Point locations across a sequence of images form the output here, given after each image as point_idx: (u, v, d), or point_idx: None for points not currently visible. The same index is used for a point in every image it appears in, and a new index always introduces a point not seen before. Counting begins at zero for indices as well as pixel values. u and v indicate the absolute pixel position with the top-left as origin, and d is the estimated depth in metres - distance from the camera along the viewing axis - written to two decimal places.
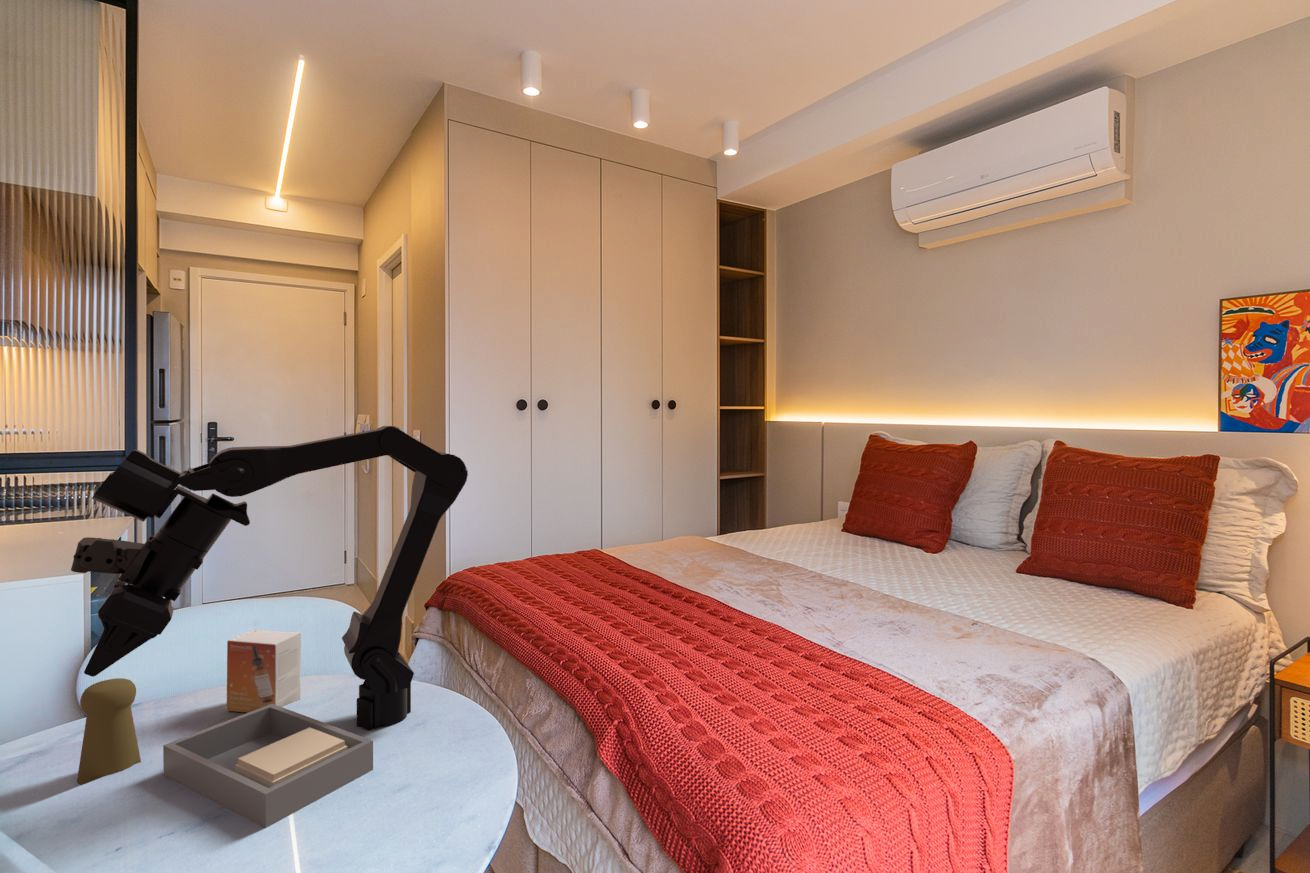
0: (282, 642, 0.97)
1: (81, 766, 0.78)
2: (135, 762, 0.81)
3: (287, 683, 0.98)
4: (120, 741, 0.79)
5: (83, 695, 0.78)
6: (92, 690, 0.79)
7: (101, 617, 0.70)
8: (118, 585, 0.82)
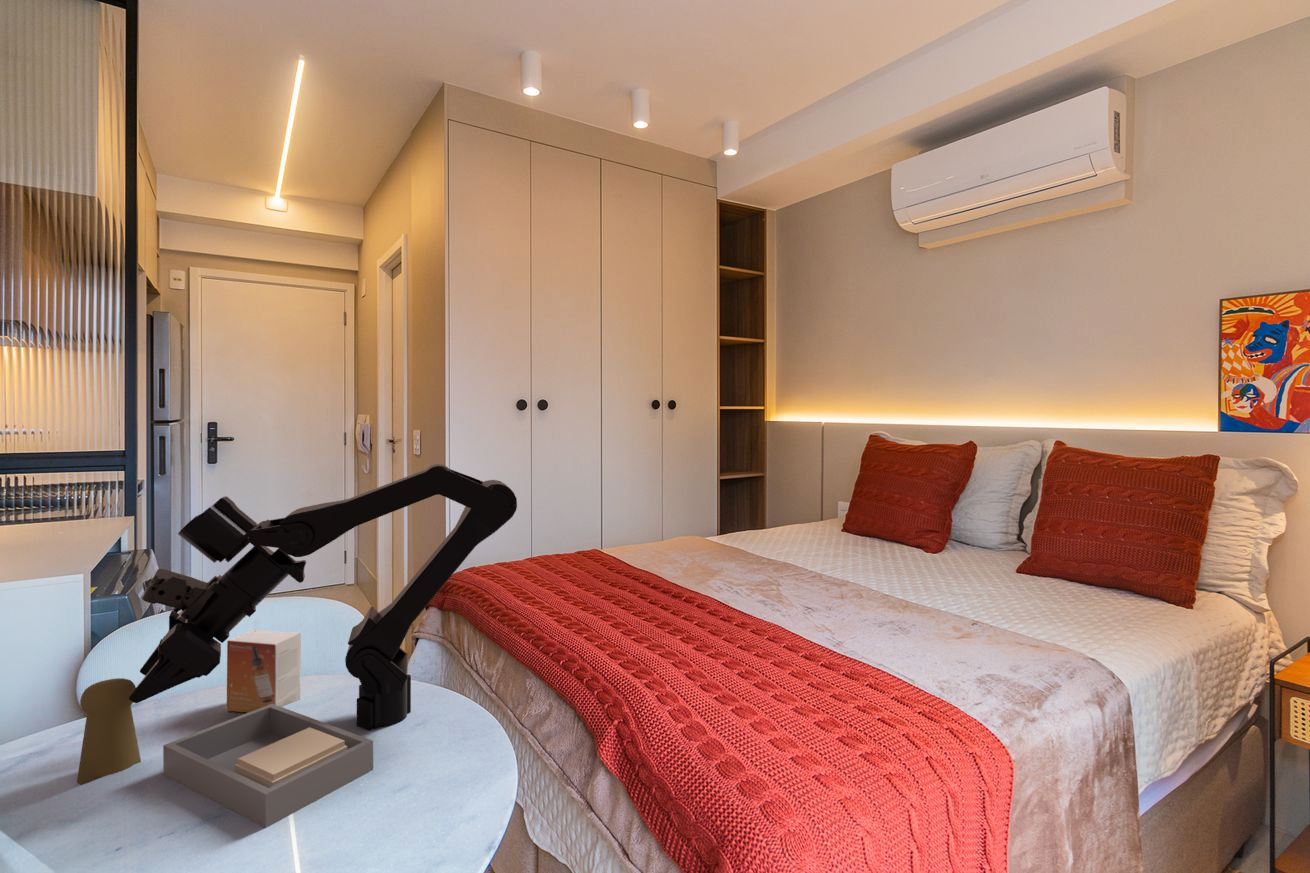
0: (282, 642, 0.97)
1: (81, 766, 0.78)
2: (135, 762, 0.81)
3: (287, 683, 0.98)
4: (120, 741, 0.79)
5: (83, 695, 0.78)
6: (92, 690, 0.79)
7: (160, 650, 0.76)
8: (172, 616, 0.88)
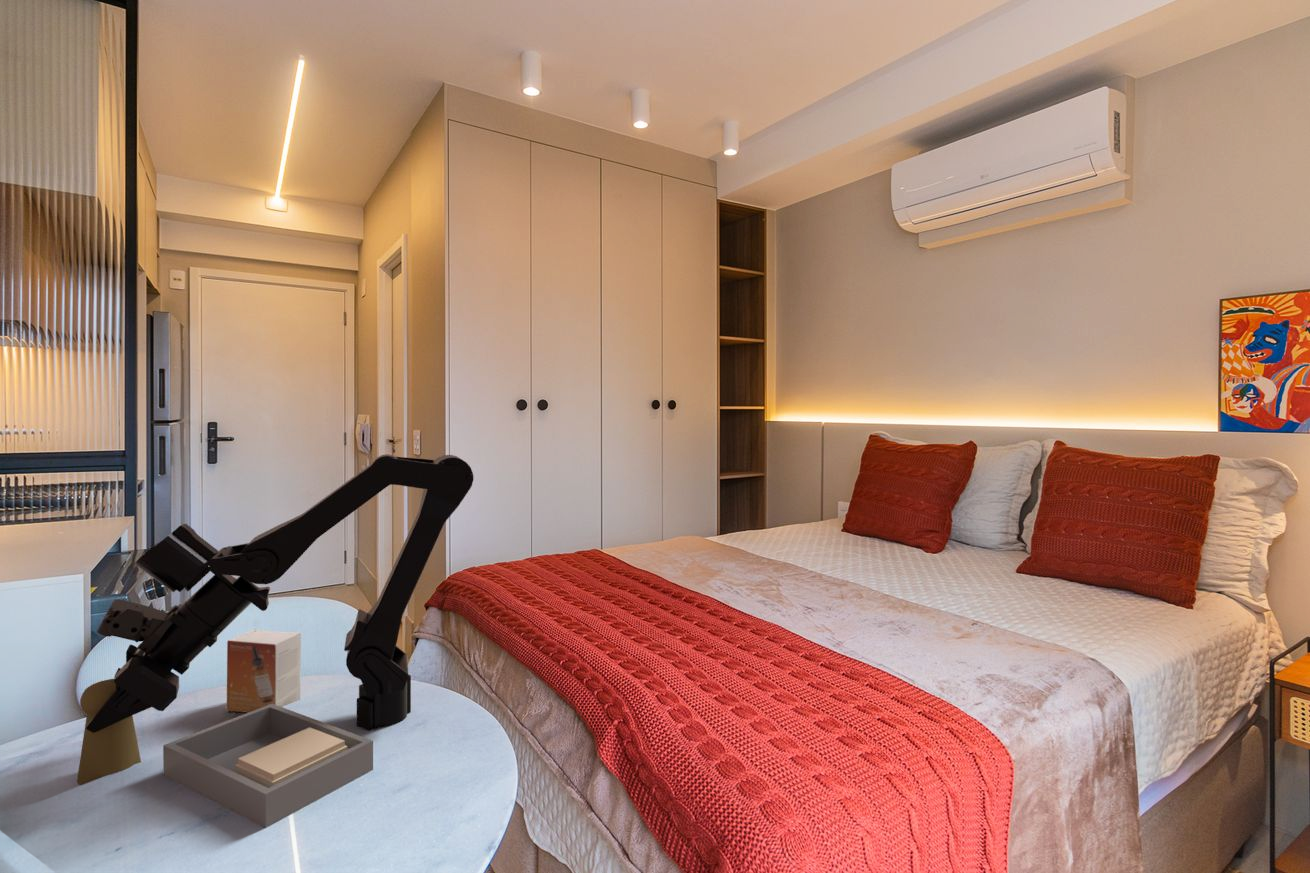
0: (282, 642, 0.97)
1: (81, 766, 0.78)
2: (135, 762, 0.81)
3: (287, 683, 0.98)
4: (120, 741, 0.79)
5: (83, 695, 0.78)
6: (92, 689, 0.79)
7: None
8: (130, 651, 0.84)
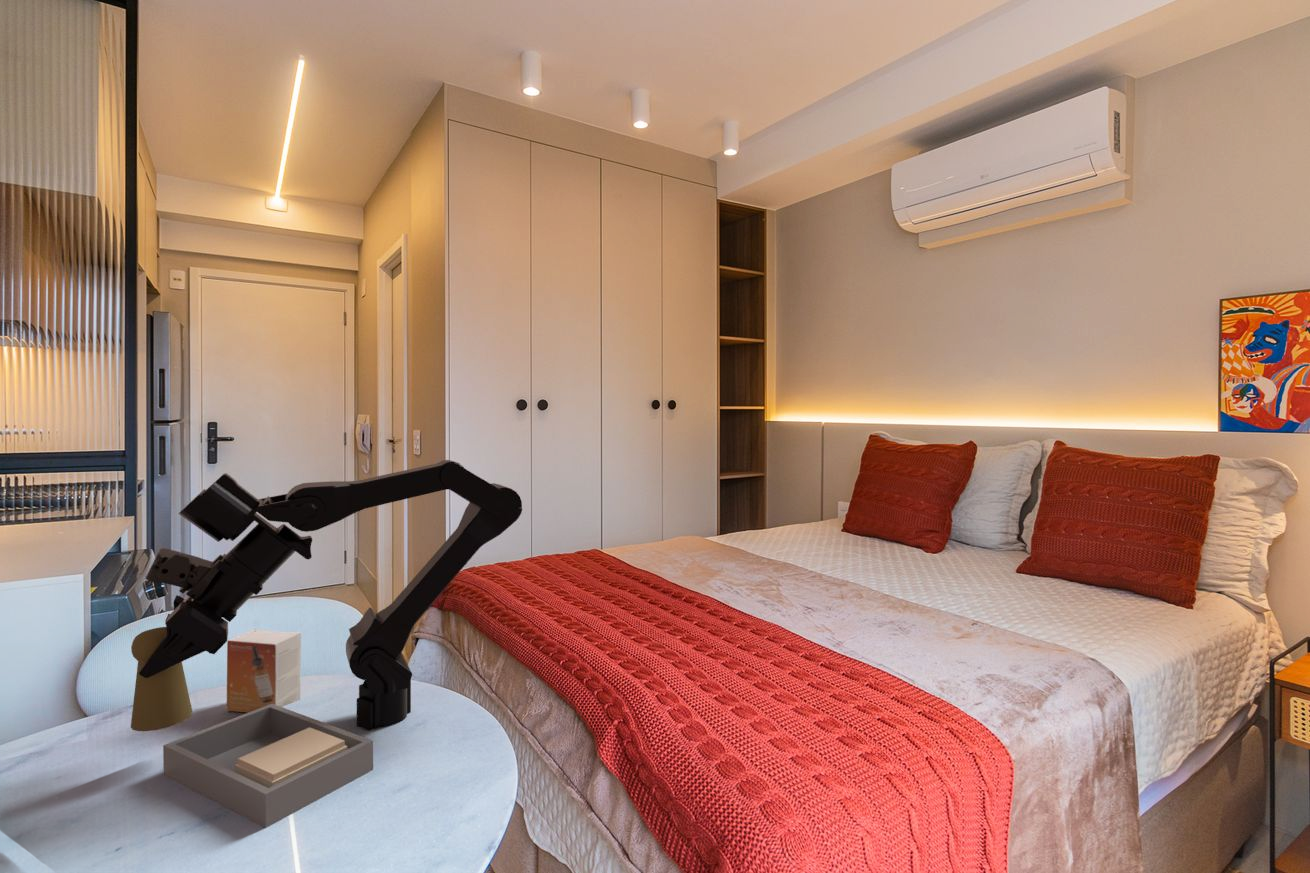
0: (282, 642, 0.97)
1: (134, 712, 0.79)
2: (186, 709, 0.81)
3: (287, 683, 0.98)
4: (171, 687, 0.80)
5: (134, 642, 0.79)
6: (143, 636, 0.79)
7: None
8: (177, 600, 0.84)
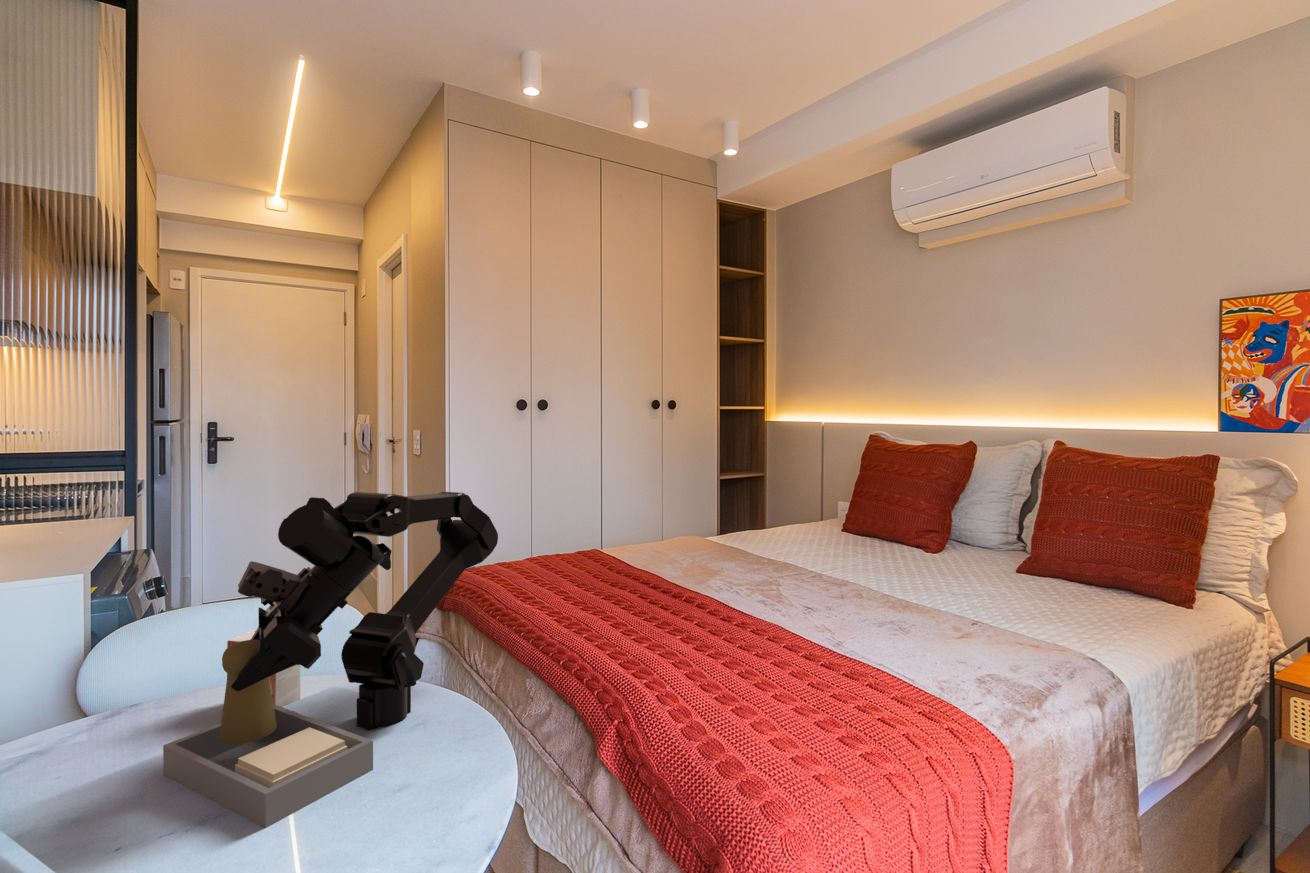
0: None
1: (224, 724, 0.79)
2: (273, 721, 0.82)
3: (287, 683, 0.98)
4: (260, 700, 0.80)
5: (225, 655, 0.79)
6: (234, 650, 0.79)
7: (263, 638, 0.77)
8: (261, 613, 0.85)
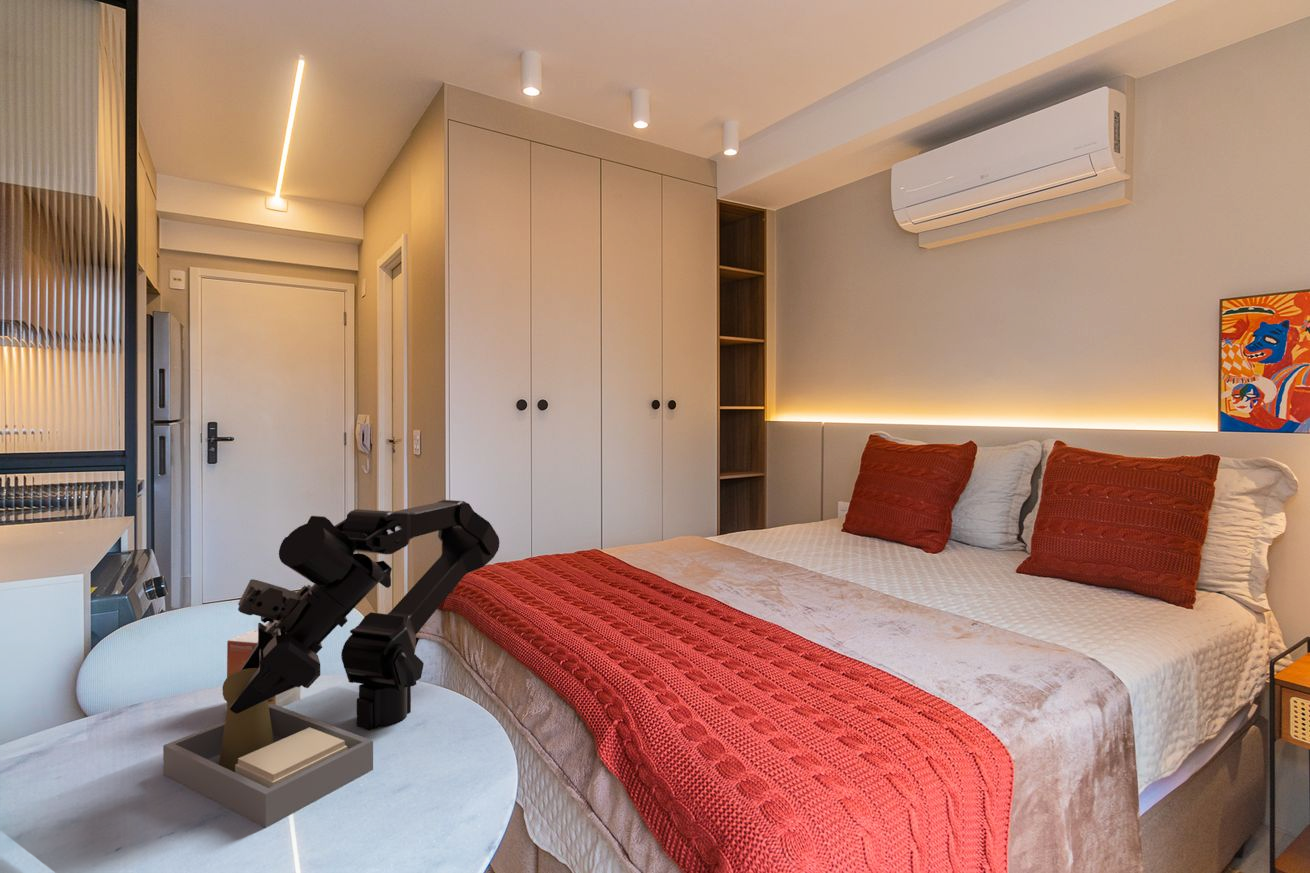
0: None
1: (224, 754, 0.79)
2: None
3: None
4: (260, 729, 0.81)
5: (226, 684, 0.80)
6: (234, 679, 0.80)
7: (263, 660, 0.76)
8: (261, 628, 0.86)
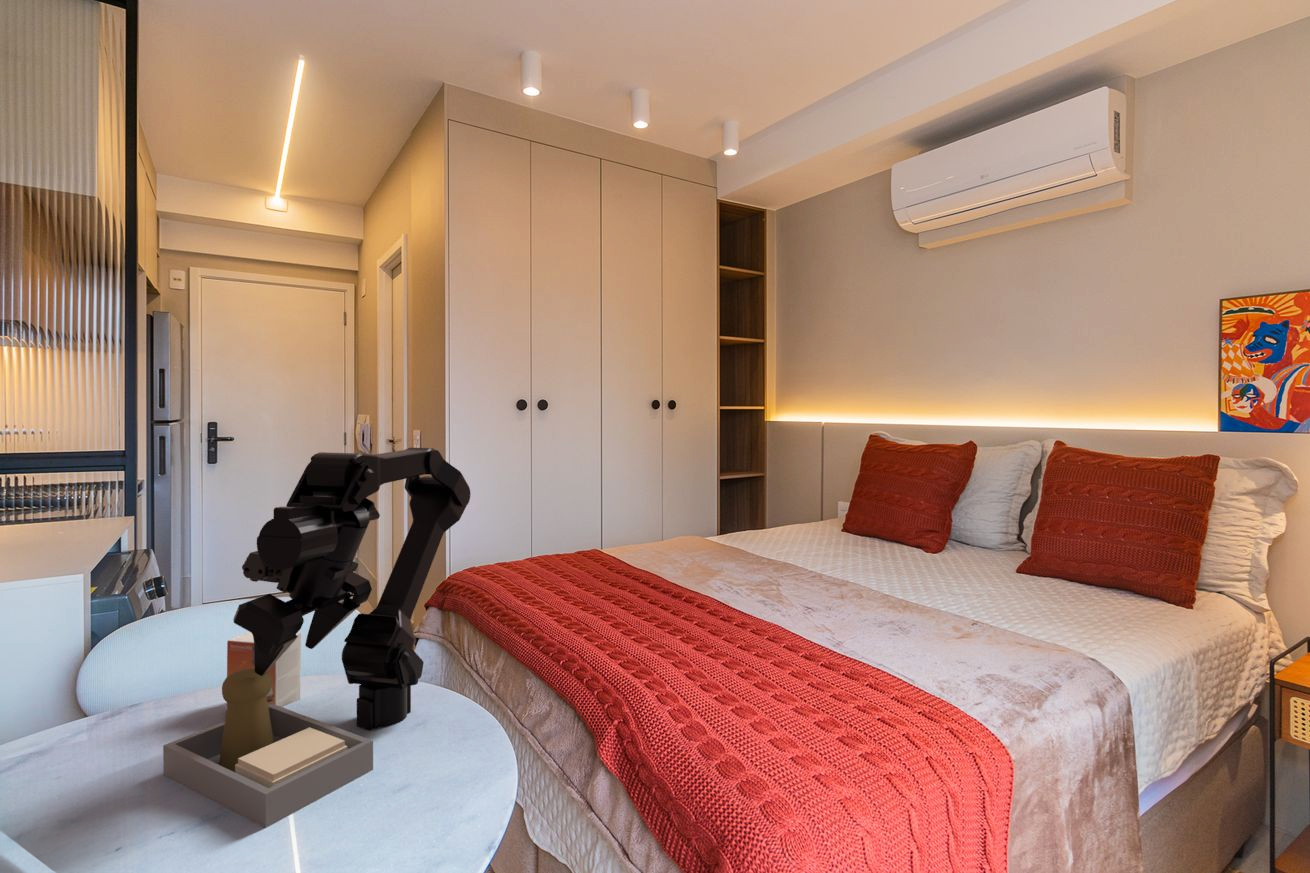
0: None
1: (224, 754, 0.79)
2: None
3: (287, 683, 0.98)
4: (260, 729, 0.81)
5: (225, 684, 0.80)
6: (234, 679, 0.80)
7: None
8: None
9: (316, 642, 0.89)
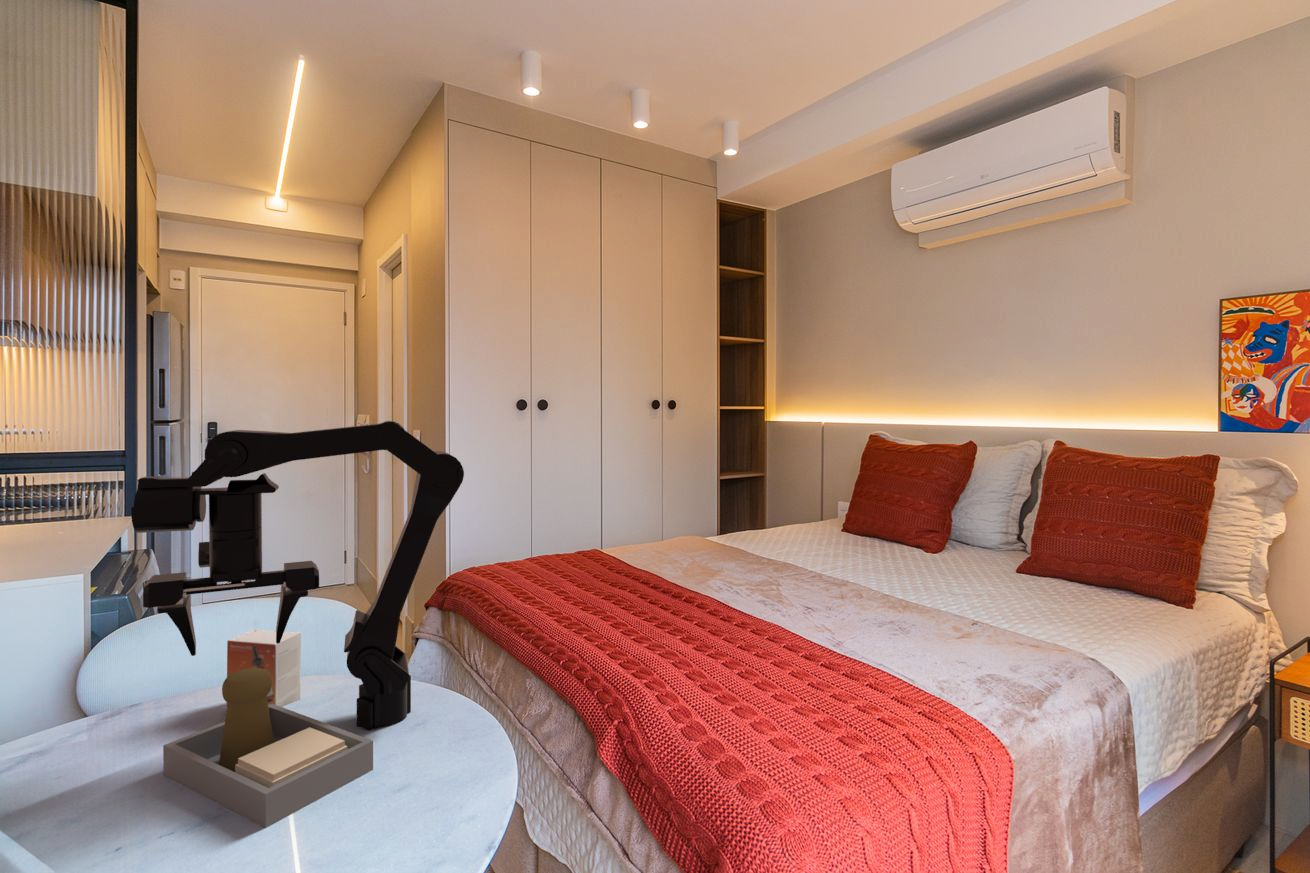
0: (282, 642, 0.97)
1: (224, 754, 0.79)
2: None
3: (287, 683, 0.98)
4: (260, 729, 0.81)
5: (225, 684, 0.80)
6: (234, 679, 0.80)
7: None
8: None
9: (276, 635, 0.88)
